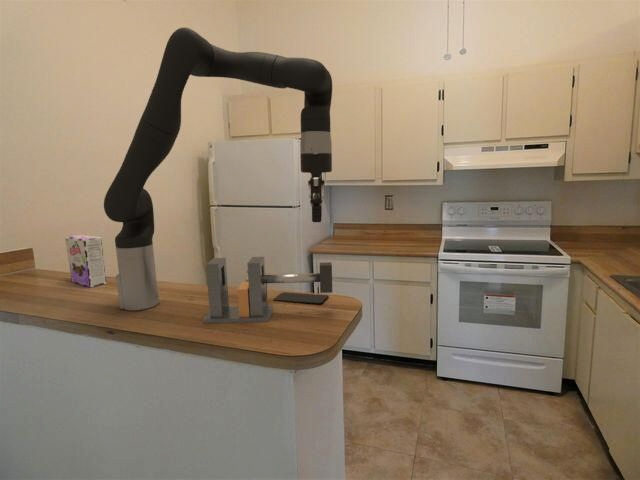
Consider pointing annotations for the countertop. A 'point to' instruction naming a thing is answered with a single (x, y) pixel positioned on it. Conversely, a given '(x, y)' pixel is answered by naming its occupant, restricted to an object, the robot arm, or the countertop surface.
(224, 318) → the bearing bracket
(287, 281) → the shaft
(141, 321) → the countertop surface
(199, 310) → the countertop surface
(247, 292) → the spacer
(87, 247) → the candy box
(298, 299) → the smartphone
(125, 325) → the countertop surface
